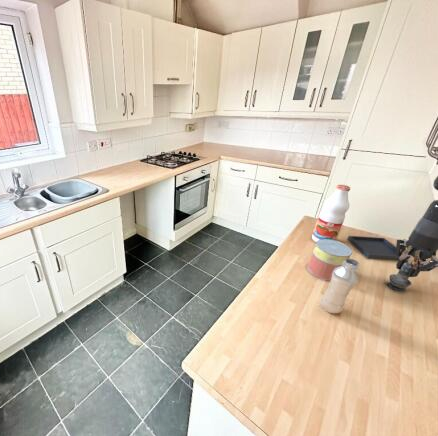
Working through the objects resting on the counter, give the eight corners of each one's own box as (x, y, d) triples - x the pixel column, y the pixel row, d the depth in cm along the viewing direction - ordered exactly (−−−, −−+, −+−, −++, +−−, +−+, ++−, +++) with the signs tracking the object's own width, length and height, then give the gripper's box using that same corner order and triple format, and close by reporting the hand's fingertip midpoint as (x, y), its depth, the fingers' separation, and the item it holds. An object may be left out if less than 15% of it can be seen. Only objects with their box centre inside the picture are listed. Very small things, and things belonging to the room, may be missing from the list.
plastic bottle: (344, 310, 81) (369, 263, 72) (335, 319, 78) (360, 272, 69) (323, 298, 86) (344, 252, 77) (314, 306, 83) (334, 260, 73)
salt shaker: (381, 281, 93) (395, 256, 87) (396, 281, 93) (412, 256, 87) (394, 292, 88) (410, 267, 82) (411, 293, 87) (428, 267, 82)
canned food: (321, 260, 105) (330, 236, 99) (347, 277, 95) (359, 252, 90) (301, 265, 102) (309, 242, 96) (326, 283, 92) (337, 258, 86)
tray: (382, 241, 116) (384, 237, 115) (407, 261, 103) (409, 257, 102) (347, 239, 118) (349, 235, 117) (367, 258, 105) (369, 254, 104)
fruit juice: (335, 239, 118) (357, 185, 105) (333, 248, 112) (357, 192, 99) (312, 233, 124) (331, 181, 110) (309, 241, 117) (329, 187, 104)
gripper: (468, 243, 72) (436, 286, 81) (420, 220, 85) (396, 259, 93) (443, 244, 72) (414, 287, 80) (399, 221, 85) (377, 260, 93)
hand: (404, 272), depth 87 cm, fingers closed on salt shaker, 3 cm apart
